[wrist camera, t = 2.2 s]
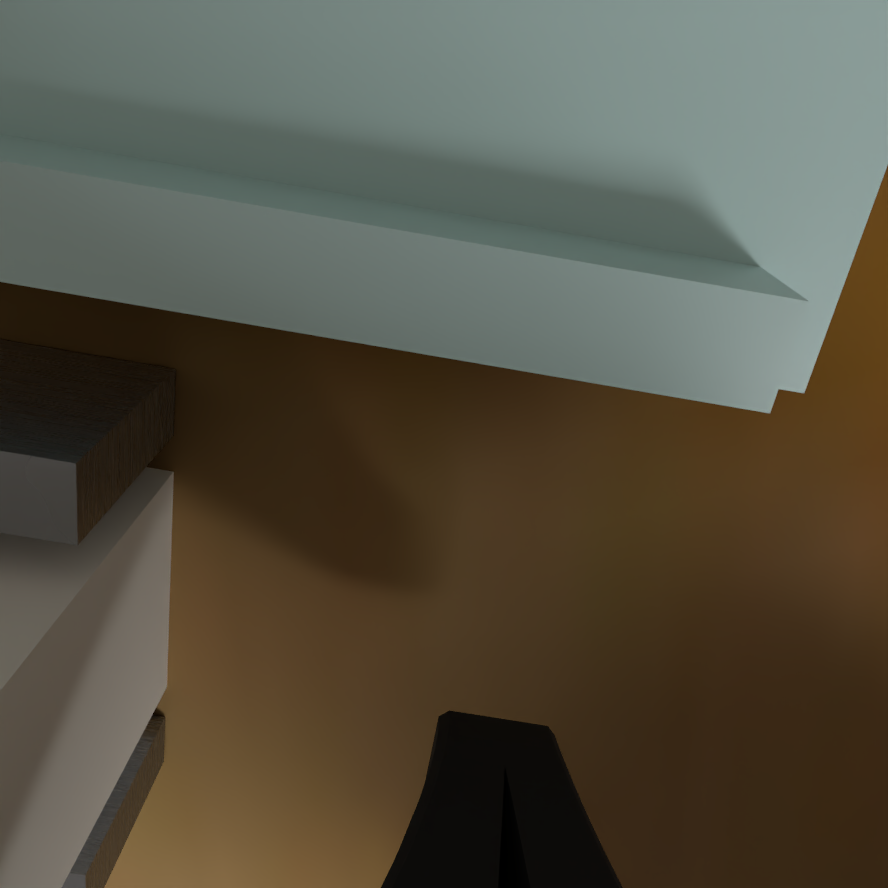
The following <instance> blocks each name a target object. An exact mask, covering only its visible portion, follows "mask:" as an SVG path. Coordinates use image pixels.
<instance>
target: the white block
mask: <svg viewBox="0 0 888 888" xmlns="http://www.w3.org/2000/svg"><path fill="white" fill-rule="evenodd" d="M173 478H174V472H172V471H166V470H160V469H154V468H148V467H146V468H145V469H144V470H143V471H142V472H141V474H140V475H139V476H138V477H137V478H136V479H135V480H134V482H133V483H132V484H131V485H130V486H129V487H128V488H127V490H126V491H125V492H124V493H123V494H122V495H121V496H120V498H119V499H118V500H117V501H116V502H115V503H114V505H113V506H112V507H111V508H110V509H109V510H108V511H107V513H106V514H105V515H104V516H103V517H102V518H101V519H100V521H99V522H98V523H97V524H96V525H95V526H94V527H93V529H92V530H91V531H90V532H89V533H88V534H87V536H86V537H85V538H84V539H83V540H82V541H81V542H80V544H79V545H71V544H65V543H59V542H53V541H47V540H41V539H35V538H29V537H23V536H17V535H11V534H5V533H0V888H62V886H63V884H64V882H65V880H66V878H67V876H68V875H69V873H70V871H71V869H72V867H73V865H74V863H75V861H76V859H77V857H78V855H79V854H80V852H81V850H82V848H83V846H84V844H85V842H86V840H87V838H88V836H89V835H90V833H91V831H92V829H93V827H94V825H95V823H96V821H97V819H98V817H99V815H100V814H101V812H102V810H103V808H104V806H105V804H106V802H107V800H108V798H109V796H110V795H111V793H112V791H113V789H114V787H115V785H116V783H117V781H118V779H119V777H120V775H121V774H122V772H123V770H124V768H125V766H126V764H127V762H128V760H129V758H130V756H131V755H132V753H133V751H134V749H135V747H136V745H137V743H138V741H139V739H140V737H141V735H142V734H143V732H144V730H145V728H146V726H147V724H148V722H149V720H150V718H151V716H152V715H153V713H154V711H155V709H156V707H157V705H158V703H159V701H160V699H161V697H162V695H163V694H164V692H165V690H166V688H167V667H168V636H169V604H170V573H171V541H172V510H173Z"/></svg>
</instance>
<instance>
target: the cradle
mask: <svg viewBox="0 0 888 888" xmlns="http://www.w3.org/2000/svg"><path fill="white" fill-rule="evenodd" d="M887 165H888V0H0V282H4V283H10V284H16V285H21V286H27V287H33V288H39V289H45V290H51V291H57V292H62V293H68V294H74V295H80V296H86V297H92V298H98V299H103V300H109V301H115V302H121V303H127V304H133V305H138V306H144V307H150V308H156V309H162V310H168V311H174V312H179V313H185V314H191V315H197V316H203V317H209V318H215V319H220V320H226V321H232V322H238V323H244V324H250V325H255V326H261V327H267V328H273V329H279V330H285V331H291V332H296V333H302V334H308V335H314V336H320V337H326V338H332V339H337V340H343V341H349V342H355V343H361V344H367V345H372V346H378V347H384V348H390V349H396V350H402V351H408V352H413V353H419V354H425V355H431V356H437V357H443V358H449V359H454V360H460V361H466V362H472V363H478V364H484V365H489V366H495V367H501V368H507V369H513V370H519V371H525V372H530V373H536V374H542V375H548V376H554V377H560V378H566V379H571V380H577V381H583V382H589V383H595V384H601V385H606V386H612V387H618V388H624V389H630V390H636V391H642V392H647V393H653V394H659V395H665V396H671V397H677V398H683V399H688V400H694V401H700V402H706V403H712V404H718V405H723V406H729V407H735V408H741V409H747V410H753V411H759V412H764V413H770V412H771V409H772V406H773V403H774V401H775V398H776V395H777V392H778V389H782V390H787V391H793V392H799V393H804V392H805V390H806V387H807V384H808V381H809V379H810V376H811V373H812V370H813V368H814V365H815V362H816V359H817V357H818V354H819V351H820V349H821V346H822V343H823V340H824V338H825V335H826V332H827V329H828V327H829V324H830V321H831V318H832V316H833V313H834V310H835V307H836V305H837V302H838V299H839V297H840V294H841V291H842V288H843V286H844V283H845V280H846V277H847V275H848V272H849V269H850V266H851V264H852V261H853V258H854V255H855V253H856V250H857V247H858V245H859V242H860V239H861V236H862V234H863V231H864V228H865V225H866V223H867V220H868V217H869V214H870V212H871V209H872V206H873V203H874V201H875V198H876V195H877V193H878V190H879V187H880V184H881V182H882V179H883V176H884V173H885V171H886V168H887Z"/></svg>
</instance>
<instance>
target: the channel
mask: <svg viewBox="0 0 888 888" xmlns="http://www.w3.org/2000/svg"><path fill="white" fill-rule="evenodd" d="M175 373H176V369H171V368H165V367H159V366H153V365H147V364H142V363H136V362H130V361H124V360H118V359H112V358H106V357H100V356H94V355H88V354H83V353H77V352H71V351H65V350H59V349H53V348H47V347H41V346H35V345H29V344H24V343H18V342H12V341H6V340H0V533H5V534H11V535H17V536H23V537H29V538H35V539H41V540H47V541H53V542H59V543H65V544H71V545H79V544H80V542H81V541H82V540H83V539H84V538H85V537H86V536H87V534H88V533H89V532H90V531H91V530H92V529H93V527H94V526H95V525H96V524H97V523H98V522H99V521H100V519H101V518H102V517H103V516H104V515H105V514H106V513H107V511H108V510H109V509H110V508H111V507H112V506H113V505H114V503H115V502H116V501H117V500H118V499H119V498H120V496H121V495H122V494H123V493H124V492H125V491H126V490H127V488H128V487H129V486H130V485H131V484H132V483H133V482H134V480H135V479H136V478H137V477H138V476H139V475H140V474H141V472H142V471H143V470H144V469H145V468H146V467H147V465H148V464H149V463H150V462H151V461H152V460H153V459H154V457H155V456H156V455H157V454H158V453H159V452H160V451H161V449H162V448H163V447H164V446H165V445H166V444H167V443H168V441H169V440H170V439H171V438H172V437H173V436H174V406H175ZM164 733H165V717H161V716H155V715H152V716H151V718H150V720H149V722H148V724H147V726H146V728H145V730H144V732H143V734H142V735H141V737H140V739H139V741H138V743H137V745H136V747H135V749H134V751H133V753H132V755H131V756H130V758H129V760H128V762H127V764H126V766H125V768H124V770H123V772H122V774H121V775H120V777H119V779H118V781H117V783H116V785H115V787H114V789H113V791H112V793H111V795H110V796H109V798H108V800H107V802H106V804H105V806H104V808H103V810H102V812H101V814H100V815H99V817H98V819H97V821H96V823H95V825H94V827H93V829H92V831H91V833H90V835H89V836H88V838H87V840H86V842H85V844H84V846H83V848H82V850H81V852H80V854H79V855H78V857H77V859H76V861H75V863H74V865H73V867H72V869H71V871H70V873H69V875H68V876H67V878H66V880H65V882H64V884H63V886H62V888H104V887H105V885H106V883H107V881H108V878H109V876H110V874H111V872H112V870H113V868H114V866H115V864H116V861H117V859H118V857H119V855H120V853H121V851H122V849H123V847H124V845H125V842H126V840H127V838H128V836H129V834H130V832H131V830H132V828H133V825H134V823H135V821H136V819H137V817H138V815H139V813H140V811H141V809H142V806H143V804H144V802H145V800H146V798H147V796H148V794H149V792H150V789H151V787H152V785H153V783H154V781H155V779H156V777H157V775H158V773H159V770H160V768H161V766H162V764H163V762H164Z"/></svg>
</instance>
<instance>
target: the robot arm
mask: <svg viewBox="0 0 888 888" xmlns="http://www.w3.org/2000/svg"><path fill="white" fill-rule="evenodd" d="M381 888H622V886H621V884H620V882H619V880H618V878H617V876H616V874H615V872H614V870H613V868H612V866H611V864H610V862H609V860H608V858H607V856H606V854H605V852H604V850H603V848H602V846H601V843H600V841H599V839H598V837H597V835H596V833H595V831H594V829H593V826H592V824H591V822H590V820H589V818H588V815H587V813H586V811H585V809H584V806H583V804H582V802H581V800H580V797H579V795H578V793H577V790H576V788H575V786H574V783H573V781H572V779H571V776H570V774H569V771H568V769H567V767H566V764H565V762H564V759H563V756H562V754H561V751H560V749H559V746H558V743H557V741H556V738H555V735H554V734H553V732H552V731H551V730H550V728H549V727H548V726H543V725H537V724H531V723H524V722H518V721H512V720H505V719H499V718H493V717H486V716H480V715H474V714H467V713H461V712H455V711H448V712H446V713H444V714H443V715H441V716H439V718H438V723H437V728H436V733H435V737H434V742H433V747H432V752H431V757H430V762H429V766H428V771H427V776H426V781H425V784H424V787H423V790H422V793H421V796H420V799H419V802H418V804H417V807H416V809H415V812H414V814H413V817H412V819H411V821H410V824H409V826H408V829H407V831H406V834H405V836H404V839H403V841H402V844H401V846H400V849H399V851H398V853H397V855H396V858H395V860H394V862H393V864H392V866H391V868H390V870H389V872H388V874H387V876H386V878H385V880H384V882H383V885H382V887H381Z"/></svg>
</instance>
